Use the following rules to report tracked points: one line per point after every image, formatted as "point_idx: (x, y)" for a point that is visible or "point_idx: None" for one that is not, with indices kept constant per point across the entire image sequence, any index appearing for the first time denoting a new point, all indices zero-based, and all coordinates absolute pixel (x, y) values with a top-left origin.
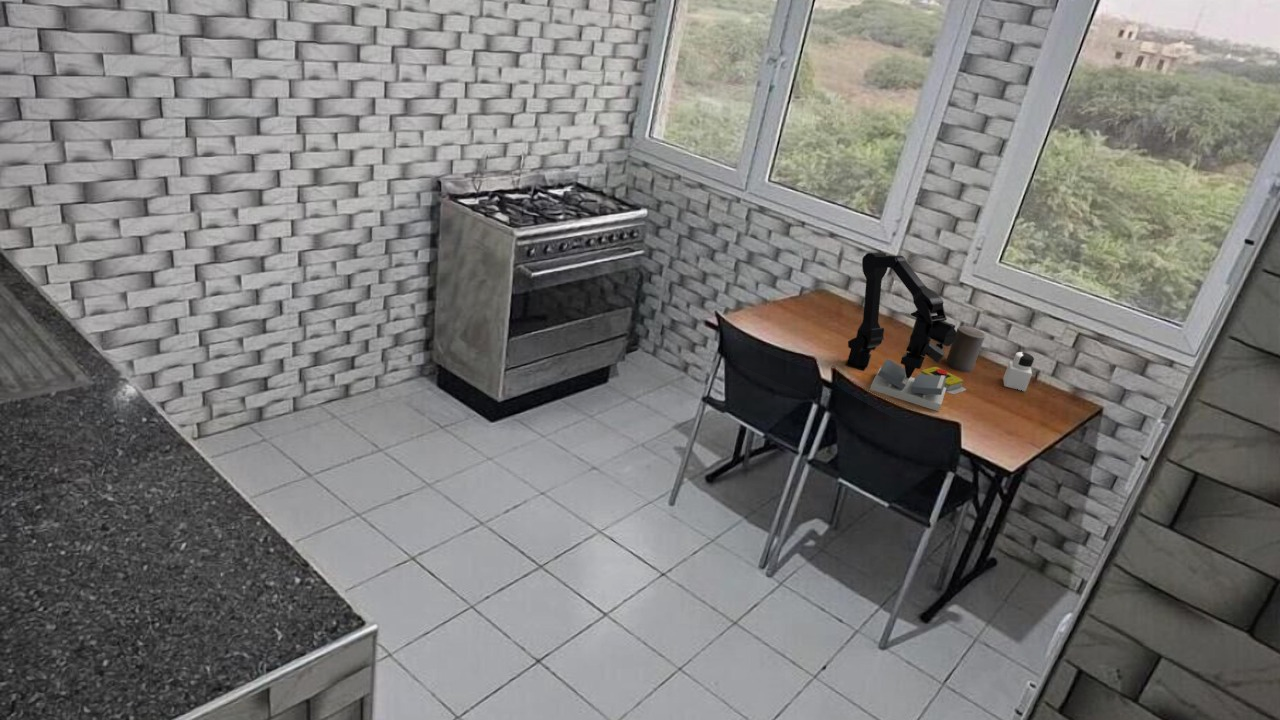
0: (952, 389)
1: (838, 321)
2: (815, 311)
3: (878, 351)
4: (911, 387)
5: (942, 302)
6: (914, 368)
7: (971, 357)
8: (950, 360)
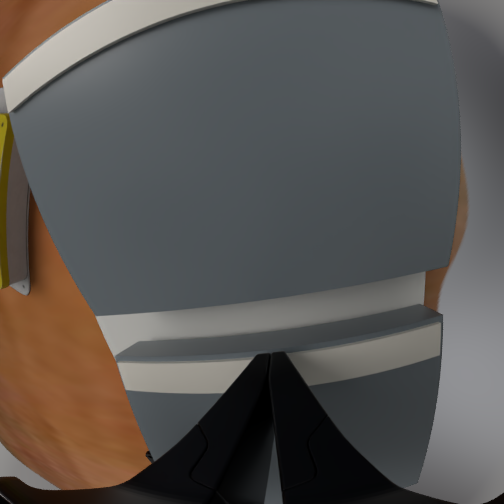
0: None
1: (43, 461)
2: (61, 482)
3: (39, 414)
4: (444, 262)
5: None
6: (356, 451)
7: None
8: None
